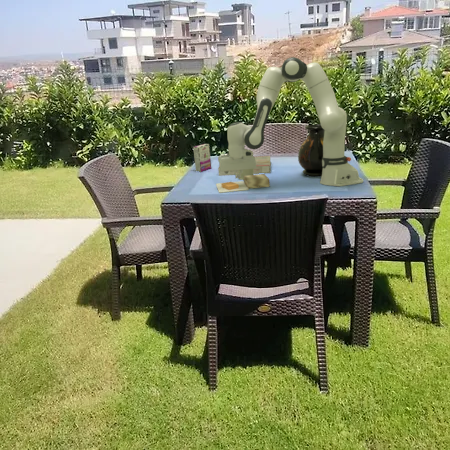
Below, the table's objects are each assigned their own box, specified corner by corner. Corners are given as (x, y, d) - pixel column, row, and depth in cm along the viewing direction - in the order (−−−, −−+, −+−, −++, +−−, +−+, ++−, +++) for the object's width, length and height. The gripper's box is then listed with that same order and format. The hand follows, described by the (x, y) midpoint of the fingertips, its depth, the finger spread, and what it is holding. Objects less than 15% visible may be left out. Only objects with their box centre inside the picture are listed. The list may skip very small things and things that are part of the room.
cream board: (243, 181, 256) (243, 180, 256) (248, 190, 237) (248, 189, 237) (215, 184, 255) (215, 183, 255) (219, 193, 236) (219, 192, 236)
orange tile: (231, 185, 249) (231, 181, 248) (238, 188, 241) (238, 184, 240) (221, 186, 246) (221, 183, 246) (228, 190, 239) (228, 186, 238)
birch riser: (264, 180, 254) (264, 173, 253) (269, 186, 241) (269, 179, 240) (244, 182, 253) (243, 176, 252) (247, 188, 240) (247, 181, 239)
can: (240, 180, 259) (239, 160, 255) (237, 177, 267) (235, 157, 263) (255, 178, 260) (254, 158, 256) (251, 175, 269) (250, 156, 265)
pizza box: (218, 168, 274) (223, 158, 304) (218, 176, 276) (224, 165, 306) (270, 165, 270) (270, 155, 300) (270, 173, 272) (270, 163, 302)
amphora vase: (336, 177, 248) (336, 127, 239) (297, 178, 253) (296, 129, 244) (335, 169, 268) (335, 122, 259) (299, 170, 273) (298, 124, 263)
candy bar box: (206, 168, 300) (203, 143, 295) (211, 168, 298) (209, 144, 292) (195, 171, 292) (192, 146, 287) (200, 172, 289) (198, 147, 284)
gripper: (218, 155, 236) (220, 181, 241) (256, 152, 238) (257, 177, 242) (217, 153, 242) (219, 178, 247) (254, 150, 244) (255, 174, 248)
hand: (238, 177), depth 245 cm, fingers closed
